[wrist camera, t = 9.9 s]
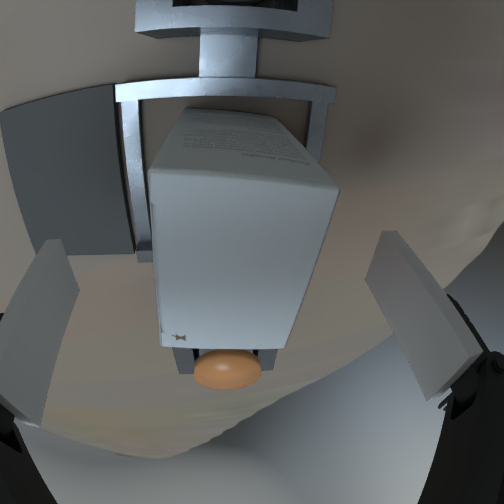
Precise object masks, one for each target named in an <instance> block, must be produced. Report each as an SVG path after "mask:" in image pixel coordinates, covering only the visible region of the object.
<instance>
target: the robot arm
mask: <svg viewBox="0 0 504 504" xmlns="http://www.w3.org/2000/svg"><path fill="white" fill-rule="evenodd" d="M365 281H366V283H367V285H368V286H369V288H370V290H371V292H372V293H373V295H374V297H375V299H376V301H377V302H378V304H379V306H380V308H381V310H382V311H383V313H384V315H385V317H386V319H387V321H388V323H389V325H390V326H391V328H392V330H393V332H394V334H395V336H396V338H397V340H398V342H399V344H400V346H401V348H402V350H403V352H404V354H405V356H406V358H407V360H408V362H409V364H410V366H411V368H412V370H413V372H414V374H415V377H416V379H417V381H418V383H419V385H420V387H421V390H422V392H423V394H424V396H425V398H426V401H429V400H431V399H434V398H436V397H439V396H441V395H442V394H443V393H444V392H445V391H446V390H447V389H449V388H451V390H452V393H451V394H450V395H449V396H447V397H446V398H445V399H444V400H443V401H442V402H441V403H440V404H439V406H438V408H439V409H440V408H441V407H442V406H444V405H445V404H446V403H447V406H446V407H445V408H444V409H443V410H444V411H446V412H445V417H444V421H443V425H442V430H441V434H440V438H439V441H438V445H437V449H436V452H435V456H434V459H433V462H432V465H431V468H430V471H429V474H428V477H427V480H426V483H425V486H424V488H423V491H422V494H421V496H420V499H419V501H418V504H504V355H502V354H501V353H500V352H496V351H493V352H490V351H489V349H488V348H487V346H486V345H485V343H484V342H483V340H482V338H481V337H480V335H479V334H478V332H477V330H476V329H475V327H474V326H473V324H472V323H471V322H470V321H469V318H468V317H467V315H466V314H464V311H463V309H462V308H461V307H460V305H459V304H458V302H457V301H455V300H454V299H453V298H452V297H451V296H450V295H449V294H445V292H444V291H443V289H442V288H441V287H440V285H439V284H438V283H437V281H436V280H435V279H434V277H433V276H432V275H431V273H430V272H429V271H428V269H427V268H426V267H425V266H424V264H423V263H422V262H421V260H420V259H419V258H418V257H417V255H416V254H415V253H414V252H413V250H412V249H411V248H410V247H409V246H408V244H407V243H406V242H405V241H404V239H403V238H402V237H401V236H400V235H399V234H398V232H397V231H382V233H381V236H380V239H379V242H378V245H377V248H376V250H375V253H374V256H373V259H372V262H371V264H370V267H369V270H368V272H367V275H366V278H365ZM79 291H80V289H79V287H78V284H77V282H76V279H75V277H74V274H73V272H72V269H71V266H70V263H69V261H68V258H67V255H66V252H65V249H64V246H63V243H62V240H61V239H50V240H46V241H45V242H44V244H43V246H42V247H41V249H40V250H39V252H38V253H37V255H36V257H35V258H34V260H33V262H32V263H31V265H30V267H29V268H28V270H27V272H26V273H25V275H24V277H23V279H22V280H21V282H20V284H19V286H18V288H17V289H16V291H15V293H14V295H13V297H12V299H11V301H10V303H9V305H8V307H7V309H6V311H5V313H0V504H57V502H56V500H55V499H54V497H53V496H52V494H51V492H50V491H49V489H48V487H47V486H46V484H45V482H44V480H43V479H42V477H41V475H40V473H39V471H38V470H37V468H36V466H35V464H34V462H33V460H32V458H31V456H30V454H29V452H28V450H27V447H26V445H25V444H24V441H23V439H22V436H21V434H20V432H19V429H18V428H17V426H16V424H15V423H14V422H13V421H14V417H16V418H18V419H19V420H20V421H21V422H23V423H24V424H28V425H31V426H35V427H39V428H40V427H41V422H42V417H43V412H44V407H45V402H46V398H47V393H48V389H49V385H50V381H51V377H52V373H53V369H54V366H55V362H56V359H57V355H58V352H59V348H60V345H61V342H62V339H63V336H64V332H65V329H66V326H67V324H68V321H69V318H70V315H71V312H72V309H73V307H74V304H75V301H76V298H77V296H78V293H79Z"/></svg>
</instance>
